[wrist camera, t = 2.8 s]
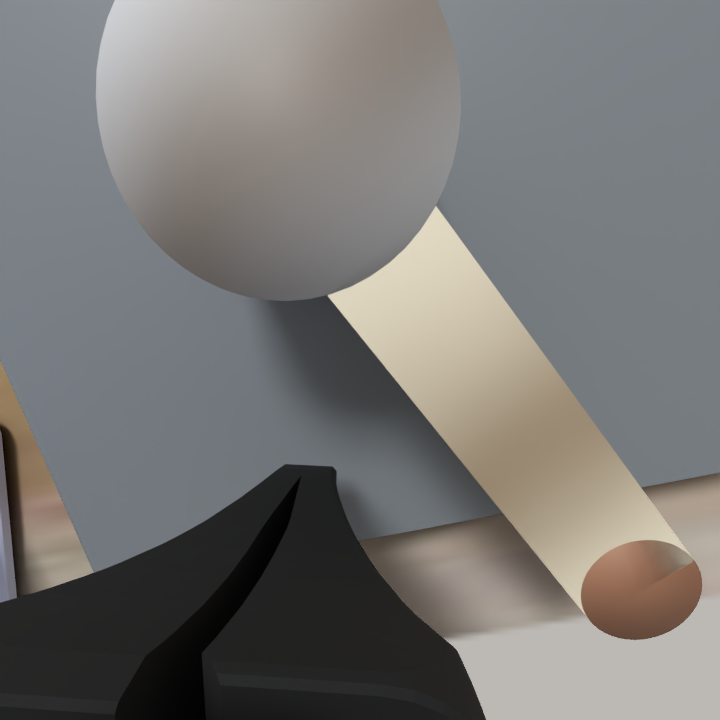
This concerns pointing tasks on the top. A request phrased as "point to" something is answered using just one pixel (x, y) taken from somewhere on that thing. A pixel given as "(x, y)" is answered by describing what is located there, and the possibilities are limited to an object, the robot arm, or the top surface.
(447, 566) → the top surface
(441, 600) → the top surface
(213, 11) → the grey beige handled piece
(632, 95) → the latch plate
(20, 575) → the top surface
